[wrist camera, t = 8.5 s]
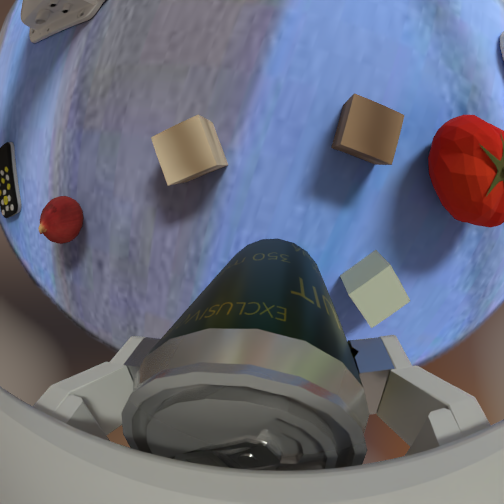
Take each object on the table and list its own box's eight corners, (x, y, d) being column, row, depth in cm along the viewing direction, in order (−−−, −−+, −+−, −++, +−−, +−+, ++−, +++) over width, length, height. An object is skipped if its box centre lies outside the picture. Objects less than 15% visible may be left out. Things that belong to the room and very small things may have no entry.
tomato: (497, 177, 23) (550, 188, 14) (449, 236, 27) (500, 266, 17) (447, 100, 22) (500, 84, 12) (393, 158, 25) (442, 158, 16)
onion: (60, 208, 32) (20, 221, 24) (81, 183, 30) (39, 192, 23) (79, 242, 33) (40, 261, 25) (101, 219, 31) (60, 235, 24)
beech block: (186, 182, 29) (167, 185, 24) (171, 141, 28) (150, 137, 23) (228, 165, 28) (216, 165, 23) (212, 122, 27) (198, 114, 22)
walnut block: (331, 148, 26) (340, 144, 21) (343, 104, 24) (354, 93, 20) (374, 164, 26) (391, 164, 21) (386, 122, 24) (404, 115, 20)
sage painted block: (361, 305, 31) (371, 328, 26) (339, 275, 30) (348, 294, 25) (394, 281, 29) (410, 300, 25) (375, 249, 29) (390, 264, 24)
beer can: (256, 339, 17) (210, 518, 5) (209, 265, 16) (70, 394, 4) (335, 299, 16) (401, 477, 4) (291, 218, 15) (305, 294, 3)
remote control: (15, 139, 30) (7, 139, 28) (24, 210, 33) (16, 212, 31) (0, 152, 31) (-8, 152, 29) (9, 217, 34) (1, 220, 32)
